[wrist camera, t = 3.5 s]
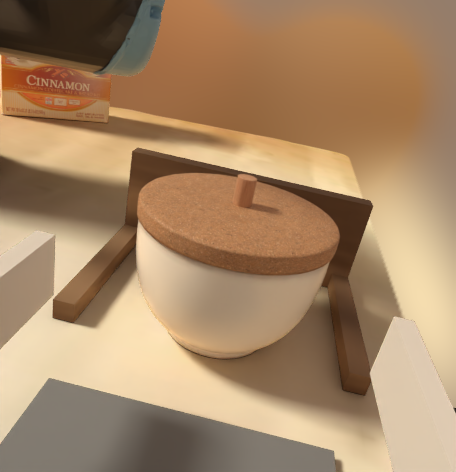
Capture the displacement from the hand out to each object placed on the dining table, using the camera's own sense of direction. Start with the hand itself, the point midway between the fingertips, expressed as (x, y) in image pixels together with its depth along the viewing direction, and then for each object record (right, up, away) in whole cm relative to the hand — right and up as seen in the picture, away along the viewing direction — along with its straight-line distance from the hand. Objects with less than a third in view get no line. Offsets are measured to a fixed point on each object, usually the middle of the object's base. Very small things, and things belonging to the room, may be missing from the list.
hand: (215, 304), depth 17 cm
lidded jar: (0, -3, +10) cm, 10 cm away
